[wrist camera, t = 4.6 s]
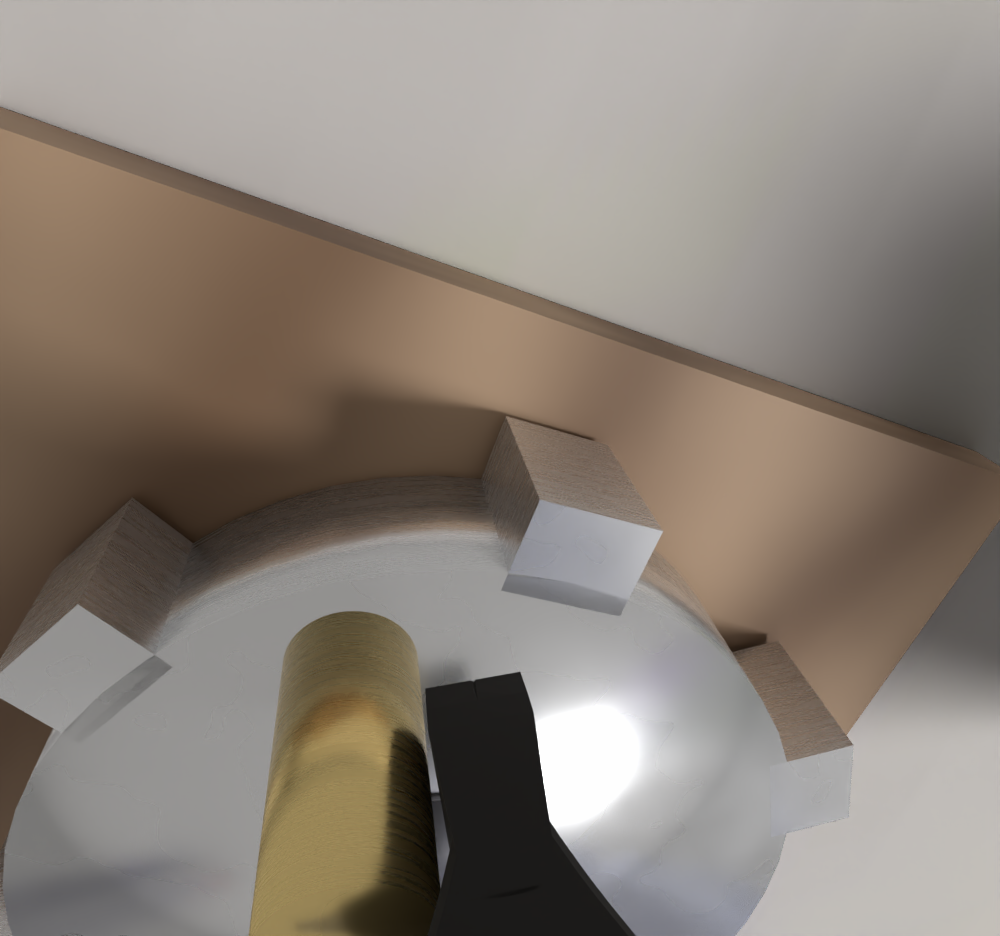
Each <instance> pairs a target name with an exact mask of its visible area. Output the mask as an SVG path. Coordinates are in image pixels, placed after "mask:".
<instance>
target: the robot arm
mask: <svg viewBox="0 0 1000 936" xmlns="http://www.w3.org/2000/svg"><path fill="white" fill-rule="evenodd" d="M425 695H426V711H427V724H428V734H429V739H430V745H431V750H432V756H433V761H434V767H435V772H436V778H437V783H438V789H439V794H440V800H441V805H442V811H443V816H444V822H445V827H446V833H447V838H448V844H449V849H450V851H449V855H448V859H447V863H446V868H445V872H444V876H443V880H442V885H441V889H440V892H439V896H438V900H437V903H436V907H435V910H434V914H433V918H432V921H431V924H430V928H429V931H428V935H427V936H636V935H635V934H634V933H633V931H632V930H631V929H630V928H629V927H628V925H627V924H626V923H625V922H624V920H623V919H622V918H621V917H620V916H619V914H618V913H617V912H616V911H615V909H614V908H613V907H612V906H611V905H610V903H609V902H608V901H607V899H606V898H605V897H604V896H603V894H602V893H601V892H600V890H599V889H598V888H597V887H596V885H595V884H594V883H593V881H592V880H591V879H590V877H589V876H588V875H587V873H586V872H585V871H584V869H583V868H582V867H581V865H580V864H579V862H578V861H577V859H576V858H575V857H574V855H573V854H572V852H571V851H570V850H569V848H568V847H567V845H566V844H565V843H564V841H563V840H562V838H561V837H560V836H559V834H558V833H557V831H556V830H555V828H554V827H553V825H552V824H551V822H550V820H549V813H548V806H547V799H546V792H545V786H544V779H543V772H542V765H541V758H540V752H539V745H538V738H537V731H536V725H535V718H534V712H533V708H532V705H531V702H530V699H529V696H528V693H527V690H526V687H525V684H524V681H523V678H522V675H521V672H515V673H510V674H504V675H498V676H493V677H487V678H481V679H476V680H475V681H474V682H473V681H471V680H470V681H465V682H459V683H453V684H448V685H442V686H436V687H431V688H425Z"/></svg>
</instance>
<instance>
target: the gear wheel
mask: <svg viewBox="0 0 1000 936" xmlns="http://www.w3.org/2000/svg"><path fill="white" fill-rule="evenodd" d="M662 533H663V530H662V529H661V527H660V525H659V524H658V522H657V521H656V519H655V518H654V516H653V515H652V513H651V511H650V510H649V508H648V507H647V505H646V504H645V502H644V501H643V499H642V498H641V496H640V494H639V493H638V491H637V490H636V488H635V487H634V485H633V484H632V482H631V480H630V479H629V477H628V476H627V474H626V473H625V471H624V470H623V468H622V466H621V465H620V463H619V462H618V460H617V459H616V457H615V456H614V454H613V452H612V451H611V449H610V448H609V446H608V445H606V444H602V443H599V442H595V441H592V440H588V439H585V438H581V437H578V436H574V435H571V434H567V433H564V432H560V431H557V430H553V429H550V428H546V427H543V426H539V425H536V424H532V423H529V422H525V421H522V420H518V419H515V418H511V417H508V416H505V419H504V421H503V424H502V426H501V429H500V432H499V434H498V437H497V439H496V442H495V444H494V447H493V449H492V452H491V454H490V457H489V459H488V462H487V465H486V467H485V470H484V472H483V475H482V477H481V479H477V478H463V477H449V476H413V477H391V478H379V479H373V480H367V481H361V482H355V483H348V484H342V485H336V486H330V487H327V488H323V489H320V490H316V491H313V492H309V493H306V494H302V495H299V496H295V497H292V498H288V499H284V500H281V501H278V502H276V503H273V504H271V505H269V506H266V507H264V508H261V509H259V510H257V511H254V512H252V513H249V514H247V515H245V516H242V517H240V518H237V519H235V520H233V521H231V522H229V523H227V524H226V525H224V526H222V527H220V528H219V529H217V530H215V531H213V532H212V533H210V534H208V535H206V536H204V537H203V538H201V539H199V540H197V541H196V542H194V543H192V542H191V541H189V540H188V539H187V538H185V537H184V536H183V535H181V534H180V533H179V532H177V531H176V530H175V529H173V528H172V527H171V526H169V525H168V524H167V523H165V522H164V521H163V520H161V519H160V518H159V517H158V516H156V515H155V514H154V513H152V512H151V511H150V510H148V509H147V508H146V507H144V506H143V505H142V504H140V503H139V502H138V501H136V500H135V499H134V498H132V499H130V500H129V501H128V502H127V503H126V504H125V505H124V506H123V507H122V508H121V509H119V510H118V511H117V512H116V513H115V514H114V515H113V516H112V517H111V518H109V519H108V520H107V521H106V522H105V523H104V524H103V525H102V526H101V527H100V528H98V529H97V530H96V531H95V532H94V533H93V534H92V535H91V536H90V537H89V538H87V539H86V540H85V541H84V542H83V543H82V544H81V545H80V546H79V547H77V548H76V549H75V550H74V551H73V552H72V553H71V554H70V555H69V556H68V557H66V558H65V559H64V560H63V561H62V562H61V563H60V564H59V565H58V566H57V567H55V568H54V570H53V572H52V573H51V575H50V577H49V578H48V580H47V582H46V583H45V585H44V587H43V588H42V590H41V592H40V593H39V595H38V597H37V598H36V600H35V602H34V603H33V605H32V607H31V608H30V610H29V612H28V614H27V615H26V617H25V619H24V620H23V622H22V624H21V625H20V627H19V629H18V630H17V632H16V634H15V635H14V637H13V639H12V640H11V642H10V644H9V645H8V647H7V649H6V650H5V652H4V654H3V655H2V657H1V659H0V698H1V699H3V700H4V701H6V702H8V703H10V704H11V705H13V706H15V707H17V708H18V709H20V710H22V711H24V712H25V713H27V714H29V715H31V716H32V717H34V718H36V719H38V720H39V721H41V722H43V723H45V724H46V725H48V726H50V727H52V731H51V733H50V735H49V737H48V739H47V742H46V744H45V746H44V748H43V750H42V752H41V755H40V757H39V759H38V761H37V763H36V766H35V768H34V770H33V772H32V774H31V777H30V779H29V781H28V783H27V785H26V788H25V790H24V792H23V794H22V796H21V798H20V801H19V803H18V805H17V807H16V810H15V813H14V817H13V820H12V824H11V828H10V830H9V833H8V835H7V837H6V839H5V842H4V844H3V846H2V848H1V850H0V936H427V935H428V931H429V928H430V924H431V921H432V918H433V914H434V910H435V907H436V903H437V900H438V896H439V892H440V889H441V885H442V880H443V876H444V872H445V868H446V863H447V859H448V855H449V851H450V849H449V844H448V838H447V833H446V827H445V822H444V816H443V811H442V805H441V800H440V794H439V789H438V783H437V778H436V772H435V767H434V761H433V756H432V750H431V745H430V739H429V734H428V724H427V711H426V695H425V688H431V687H436V686H442V685H448V684H453V683H459V682H465V681H470V680H471V681H473V682H474V681H475V680H476V679H481V678H487V677H493V676H498V675H504V674H510V673H515V672H521V675H522V678H523V681H524V684H525V687H526V690H527V693H528V696H529V699H530V702H531V705H532V708H533V712H534V718H535V725H536V731H537V738H538V745H539V752H540V758H541V765H542V772H543V779H544V786H545V792H546V799H547V806H548V813H549V820H550V822H551V824H552V825H553V827H554V828H555V830H556V831H557V833H558V834H559V836H560V837H561V838H562V840H563V841H564V843H565V844H566V845H567V847H568V848H569V850H570V851H571V852H572V854H573V855H574V857H575V858H576V859H577V861H578V862H579V864H580V865H581V867H582V868H583V869H584V871H585V872H586V873H587V875H588V876H589V877H590V879H591V880H592V881H593V883H594V884H595V885H596V887H597V888H598V889H599V890H600V892H601V893H602V894H603V896H604V897H605V898H606V899H607V901H608V902H609V903H610V905H611V906H612V907H613V908H614V909H615V911H616V912H617V913H618V914H619V916H620V917H621V918H622V919H623V920H624V922H625V923H626V924H627V925H628V927H629V928H630V929H631V930H632V931H633V933H634V934H635V935H636V936H735V935H736V934H737V933H738V931H739V930H740V929H741V928H742V927H743V925H744V924H745V923H746V922H747V920H748V918H749V917H750V915H751V914H752V912H753V910H754V909H755V907H756V906H757V904H758V902H759V901H760V899H761V898H762V896H763V894H764V893H765V891H766V889H767V886H768V884H769V882H770V880H771V878H772V875H773V873H774V871H775V869H776V866H777V864H778V862H779V859H780V855H781V851H782V848H783V844H784V841H785V837H786V833H790V832H793V831H797V830H801V829H805V828H809V827H813V826H817V825H821V824H825V823H828V822H832V821H836V820H840V819H844V818H848V817H849V807H850V791H851V775H852V759H853V744H852V743H851V741H850V740H849V738H848V737H847V736H846V734H845V733H844V732H843V730H842V729H841V727H840V726H839V725H838V723H837V722H836V720H835V719H834V718H833V716H832V715H831V713H830V712H829V711H828V709H827V708H826V707H825V705H824V704H823V702H822V701H821V700H820V698H819V697H818V695H817V694H816V693H815V691H814V690H813V688H812V687H811V686H810V684H809V683H808V682H807V680H806V679H805V677H804V676H803V675H802V673H801V672H800V670H799V669H798V668H797V666H796V665H795V663H794V662H793V661H792V659H791V658H790V657H789V655H788V654H787V652H786V651H785V650H784V648H783V647H782V645H781V644H780V643H779V641H775V642H771V643H766V644H762V645H758V646H754V647H750V648H746V649H742V650H737V651H733V652H731V650H730V648H729V647H728V645H727V644H726V642H725V640H724V639H723V637H722V636H721V634H720V632H719V631H718V629H717V628H716V626H715V624H714V623H713V621H712V620H711V618H710V617H709V615H708V613H707V612H706V610H705V609H704V607H703V605H702V604H701V602H700V601H699V599H698V597H697V596H696V595H695V594H694V592H693V591H692V590H691V588H690V587H689V586H688V584H687V583H686V582H685V580H684V579H683V578H682V577H681V575H680V574H679V573H678V571H677V570H676V569H675V568H674V567H673V566H672V565H671V564H670V563H668V562H667V561H666V560H665V559H664V558H663V557H662V556H661V555H660V554H659V553H658V552H657V551H656V550H655V549H654V548H655V546H656V544H657V542H658V540H659V538H660V537H661V535H662Z"/></svg>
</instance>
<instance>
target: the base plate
mask: <svg viewBox="0 0 1000 936" xmlns="http://www.w3.org/2000/svg"><path fill="white" fill-rule="evenodd" d="M505 416H508V417H511V418H515V419H518V420H522V421H525V422H529V423H532V424H536V425H539V426H543V427H546V428H550V429H553V430H557V431H560V432H564V433H567V434H571V435H574V436H578V437H581V438H585V439H588V440H592V441H595V442H599V443H602V444H606V445H608V446H609V448H610V449H611V451H612V452H613V454H614V456H615V457H616V459H617V460H618V462H619V463H620V465H621V466H622V468H623V470H624V471H625V473H626V474H627V476H628V477H629V479H630V480H631V482H632V484H633V485H634V487H635V488H636V490H637V491H638V493H639V494H640V496H641V498H642V499H643V501H644V502H645V504H646V505H647V507H648V508H649V510H650V511H651V513H652V515H653V516H654V518H655V519H656V521H657V522H658V524H659V525H660V527H661V529H662V530H663V533H662V535H661V537H660V538H659V540H658V542H657V544H656V546H655V548H654V549H655V550H656V551H657V552H658V553H659V554H660V555H661V556H662V557H663V558H664V559H665V560H666V561H667V562H668V563H670V564H671V565H672V566H673V567H674V568H675V569H676V570H677V571H678V573H679V574H680V575H681V577H682V578H683V579H684V580H685V582H686V583H687V584H688V586H689V587H690V588H691V590H692V591H693V592H694V594H695V595H696V596H697V597H698V599H699V601H700V602H701V604H702V605H703V607H704V609H705V610H706V612H707V613H708V615H709V617H710V618H711V620H712V621H713V623H714V624H715V626H716V628H717V629H718V631H719V632H720V634H721V636H722V637H723V639H724V640H725V642H726V644H727V645H728V647H729V648H730V650H731V652H733V651H737V650H742V649H746V648H750V647H754V646H758V645H762V644H766V643H771V642H775V641H779V643H780V644H781V645H782V647H783V648H784V650H785V651H786V652H787V654H788V655H789V657H790V658H791V659H792V661H793V662H794V663H795V665H796V666H797V668H798V669H799V670H800V672H801V673H802V675H803V676H804V677H805V679H806V680H807V682H808V683H809V684H810V686H811V687H812V688H813V690H814V691H815V693H816V694H817V695H818V697H819V698H820V700H821V701H822V702H823V704H824V705H825V707H826V708H827V709H828V711H829V712H830V713H831V715H832V716H833V718H834V719H835V720H836V722H837V723H838V725H839V726H840V727H841V729H842V730H843V732H844V733H845V734H846V735H847V734H848V732H849V731H850V729H851V728H852V727H853V725H854V724H855V722H856V721H857V720H858V718H859V717H860V715H861V714H862V713H863V711H864V710H865V708H866V707H867V706H868V704H869V703H870V701H871V700H872V699H873V697H874V696H875V694H876V693H877V692H878V690H879V689H880V687H881V686H882V684H883V683H884V682H885V680H886V679H887V677H888V676H889V675H890V673H891V672H892V670H893V669H894V668H895V666H896V665H897V663H898V662H899V661H900V659H901V658H902V656H903V655H904V654H905V652H906V651H907V649H908V648H909V647H910V645H911V644H912V642H913V641H914V640H915V638H916V637H917V635H918V634H919V633H920V631H921V630H922V628H923V627H924V626H925V624H926V623H927V621H928V620H929V619H930V617H931V616H932V614H933V613H934V612H935V610H936V609H937V607H938V606H939V605H940V603H941V602H942V600H943V599H944V597H945V596H946V595H947V593H948V592H949V590H950V589H951V588H952V586H953V585H954V583H955V582H956V581H957V579H958V578H959V576H960V575H961V574H962V572H963V571H964V569H965V568H966V567H967V565H968V564H969V562H970V561H971V560H972V558H973V557H974V555H975V554H976V553H977V551H978V550H979V548H980V547H981V546H982V544H983V543H984V541H985V540H986V539H987V537H988V536H989V534H990V533H991V532H992V530H993V529H994V527H995V526H996V525H997V523H998V522H999V520H1000V466H998V465H997V464H995V463H994V462H992V461H990V460H989V459H987V458H986V457H984V456H983V455H981V454H979V453H978V452H976V451H973V450H970V449H967V448H964V447H962V446H959V445H956V444H953V443H950V442H947V441H945V440H942V439H939V438H936V437H933V436H930V435H928V434H925V433H922V432H919V431H916V430H913V429H911V428H908V427H905V426H902V425H899V424H896V423H894V422H891V421H888V420H885V419H882V418H879V417H877V416H874V415H871V414H868V413H865V412H862V411H860V410H857V409H854V408H851V407H848V406H845V405H843V404H840V403H837V402H834V401H831V400H828V399H826V398H823V397H820V396H817V395H814V394H811V393H809V392H806V391H803V390H800V389H797V388H794V387H792V386H789V385H786V384H783V383H780V382H777V381H775V380H772V379H769V378H766V377H763V376H760V375H758V374H755V373H752V372H749V371H746V370H743V369H741V368H738V367H735V366H732V365H729V364H727V363H724V362H721V361H718V360H715V359H712V358H710V357H707V356H704V355H701V354H698V353H695V352H693V351H690V350H687V349H684V348H681V347H678V346H676V345H673V344H670V343H667V342H664V341H661V340H659V339H656V338H653V337H650V336H647V335H644V334H642V333H639V332H636V331H633V330H630V329H627V328H625V327H622V326H619V325H616V324H613V323H610V322H608V321H605V320H602V319H599V318H596V317H593V316H591V315H588V314H585V313H582V312H579V311H576V310H574V309H571V308H568V307H565V306H562V305H559V304H557V303H554V302H551V301H548V300H545V299H542V298H540V297H537V296H534V295H531V294H528V293H525V292H523V291H520V290H517V289H514V288H511V287H508V286H506V285H503V284H500V283H497V282H494V281H491V280H489V279H486V278H483V277H480V276H477V275H474V274H472V273H469V272H466V271H463V270H460V269H457V268H455V267H452V266H449V265H446V264H443V263H440V262H438V261H435V260H432V259H429V258H426V257H424V256H421V255H418V254H415V253H412V252H409V251H407V250H404V249H401V248H398V247H395V246H392V245H390V244H387V243H384V242H381V241H378V240H375V239H373V238H370V237H367V236H364V235H361V234H358V233H356V232H353V231H350V230H347V229H344V228H341V227H339V226H336V225H333V224H330V223H327V222H324V221H322V220H319V219H316V218H313V217H310V216H307V215H305V214H302V213H299V212H296V211H293V210H290V209H288V208H285V207H282V206H279V205H276V204H273V203H271V202H268V201H265V200H262V199H259V198H256V197H254V196H251V195H248V194H245V193H242V192H239V191H237V190H234V189H231V188H228V187H225V186H222V185H220V184H217V183H214V182H211V181H208V180H205V179H203V178H200V177H197V176H194V175H191V174H188V173H186V172H183V171H180V170H177V169H174V168H171V167H169V166H166V165H163V164H160V163H157V162H154V161H152V160H149V159H146V158H143V157H140V156H137V155H135V154H132V153H129V152H126V151H123V150H121V149H118V148H115V147H112V146H109V145H106V144H104V143H101V142H98V141H95V140H92V139H89V138H87V137H84V136H81V135H78V134H75V133H72V132H70V131H67V130H64V129H61V128H58V127H55V126H53V125H50V124H47V123H44V122H41V121H38V120H36V119H33V118H30V117H27V116H24V115H21V114H19V113H16V112H13V111H10V110H7V109H4V108H2V107H0V659H1V657H2V655H3V654H4V652H5V650H6V649H7V647H8V645H9V644H10V642H11V640H12V639H13V637H14V635H15V634H16V632H17V630H18V629H19V627H20V625H21V624H22V622H23V620H24V619H25V617H26V615H27V614H28V612H29V610H30V608H31V607H32V605H33V603H34V602H35V600H36V598H37V597H38V595H39V593H40V592H41V590H42V588H43V587H44V585H45V583H46V582H47V580H48V578H49V577H50V575H51V573H52V572H53V570H54V568H55V567H57V566H58V565H59V564H60V563H61V562H62V561H63V560H64V559H65V558H66V557H68V556H69V555H70V554H71V553H72V552H73V551H74V550H75V549H76V548H77V547H79V546H80V545H81V544H82V543H83V542H84V541H85V540H86V539H87V538H89V537H90V536H91V535H92V534H93V533H94V532H95V531H96V530H97V529H98V528H100V527H101V526H102V525H103V524H104V523H105V522H106V521H107V520H108V519H109V518H111V517H112V516H113V515H114V514H115V513H116V512H117V511H118V510H119V509H121V508H122V507H123V506H124V505H125V504H126V503H127V502H128V501H129V500H130V499H132V498H134V499H135V500H136V501H138V502H139V503H140V504H142V505H143V506H144V507H146V508H147V509H148V510H150V511H151V512H152V513H154V514H155V515H156V516H158V517H159V518H160V519H161V520H163V521H164V522H165V523H167V524H168V525H169V526H171V527H172V528H173V529H175V530H176V531H177V532H179V533H180V534H181V535H183V536H184V537H185V538H187V539H188V540H189V541H191V542H192V543H194V542H196V541H197V540H199V539H201V538H203V537H204V536H206V535H208V534H210V533H212V532H213V531H215V530H217V529H219V528H220V527H222V526H224V525H226V524H227V523H229V522H231V521H233V520H235V519H237V518H240V517H242V516H245V515H247V514H249V513H252V512H254V511H257V510H259V509H261V508H264V507H266V506H269V505H271V504H273V503H276V502H278V501H281V500H284V499H288V498H292V497H295V496H299V495H302V494H306V493H309V492H313V491H316V490H320V489H323V488H327V487H330V486H336V485H342V484H348V483H355V482H361V481H367V480H373V479H379V478H391V477H413V476H449V477H463V478H477V479H481V477H482V475H483V472H484V470H485V467H486V465H487V462H488V459H489V457H490V454H491V452H492V449H493V447H494V444H495V442H496V439H497V437H498V434H499V432H500V429H501V426H502V424H503V421H504V419H505ZM51 731H52V727H50V726H48V725H46V724H45V723H43V722H41V721H39V720H38V719H36V718H34V717H32V716H31V715H29V714H27V713H25V712H24V711H22V710H20V709H18V708H17V707H15V706H13V705H11V704H10V703H8V702H6V701H4V700H3V699H1V698H0V850H1V848H2V846H3V844H4V842H5V839H6V837H7V835H8V833H9V830H10V828H11V824H12V820H13V817H14V813H15V810H16V807H17V805H18V803H19V801H20V798H21V796H22V794H23V792H24V790H25V788H26V785H27V783H28V781H29V779H30V777H31V774H32V772H33V770H34V768H35V766H36V763H37V761H38V759H39V757H40V755H41V752H42V750H43V748H44V746H45V744H46V742H47V739H48V737H49V735H50V733H51Z"/></svg>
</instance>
